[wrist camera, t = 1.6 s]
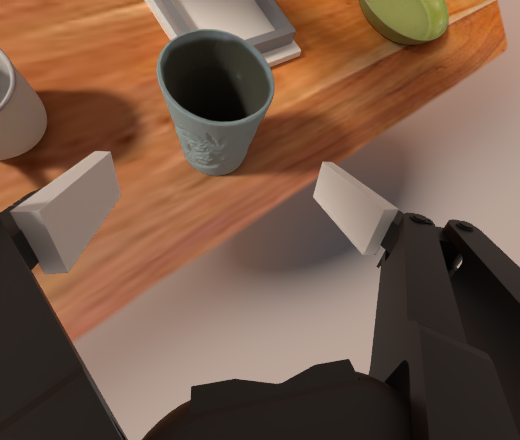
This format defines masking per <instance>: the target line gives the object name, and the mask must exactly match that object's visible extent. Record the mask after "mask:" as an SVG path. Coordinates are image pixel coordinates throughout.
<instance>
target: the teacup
mask: <svg viewBox="0 0 520 440" xmlns="http://www.w3.org/2000/svg"><path fill="white" fill-rule="evenodd" d="M46 127H47V114H46V110H45V108H44V105H43V103H42V101H41V100H40V98H39V96H38V95H37V93H36V92H35V91H34V90H33V88H32V87H31V86H30V84H29V83H28V82H27V81H26V80H25V78H24V77H23V76H22V75H21V74H20V73H19V71H18V70H17V69H16V68H15V67H14V66H13V65H12V63H11V61H10V59H9V58H8V57H7V55H6V54H5V53H4V52H3V51H2V50H1V49H0V160H5V159H9V158H13V157H16V156H19V155H21V154H23V153H25V152H27V151H29V150H30V149H31V148H33V147H34V146H35V145H36V144H37V143H38V142H39V141H40V140H41V138H42V137H43V135H44V133H45V130H46Z"/></svg>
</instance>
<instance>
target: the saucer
mask: <svg viewBox="0 0 520 440" xmlns="http://www.w3.org/2000/svg"><path fill="white" fill-rule="evenodd" d="M359 3H360V6H361V9H362V11H363V14H364V15H365V17H366V19H367V20H368V22H369V23H370V24H371V25H372V26H373V27H374V28H375V29H376V30H377V31H378V32H379V33H380V34H382V35H383V36H384V37H386V38H388V39H389V40H392V41H394V42H397V43H400V44H406V45H415V44H421V43H426V42H429V41H432V40H434V39H436V38H438V37H440V36H441V35H442V34H443V33H444V32H445V30H446V28H447V25H448V20H449V17H448V8H447V5H446V2H445V0H359Z"/></svg>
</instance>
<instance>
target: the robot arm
mask: <svg viewBox="0 0 520 440" xmlns="http://www.w3.org/2000/svg"><path fill="white" fill-rule="evenodd" d="M120 197H121V192H120V188H119V184H118V180H117V176H116V172H115V167H114V163H113V159H112V155H111V152H108V151H94V152H93V153H92V154H90V155H89V156H87V157H86V158H84V159H83V160H82V161H80V162H79V163H77V164H76V165H75V166H73V167H72V168H70V169H69V170H68V171H66V172H65V173H63V174H62V175H61V176H59V177H58V178H56V179H55V180H53V181H52V182H51V183H49V184H48V185H46V186H45V187H44V188H41V189H39V190H36V191H33V192H31V193H29V194H27V195H26V196H24V197H23V198H21V199H20V200H18V201H17V202H15V203H14V204H13V206H10V207H8V208H7V209H5V210H4V211H2V212H1V213H0V440H128V439H127V438H126V436H125V434H124V432H123V431H122V429H121V427H120V426H119V424H118V422H117V421H116V419H115V417H114V415H113V414H112V412H111V410H110V408H109V407H108V405H107V403H106V401H105V400H104V398H103V396H102V394H101V392H100V391H99V389H98V387H97V385H96V384H95V382H94V380H93V379H92V377H91V375H90V373H89V371H88V370H87V368H86V366H85V364H84V363H83V361H82V359H81V357H80V356H79V354H78V352H77V350H76V348H75V347H74V345H73V343H72V341H71V340H70V338H69V336H68V334H67V333H66V331H65V329H64V327H63V326H62V324H61V322H60V320H59V319H58V317H57V315H56V313H55V312H54V310H53V308H52V306H51V304H50V303H49V301H48V299H47V297H46V296H45V294H44V292H43V290H42V289H41V287H40V285H39V283H38V282H37V280H36V278H35V276H34V275H33V273H32V271H31V270H32V269H33V268H34V267H35V266H36V264H37V263H39V265H40V267H41V268H42V270H43V272H44V274H56V273H68V272H69V271H70V270H71V268H72V267H73V265H74V264H75V262H76V261H77V259H78V258H79V256H80V255H81V254H82V252H83V251H84V249H85V248H86V246H87V245H88V243H89V242H90V240H91V239H92V238H93V236H94V235H95V233H96V232H97V230H98V229H99V227H100V226H101V224H102V223H103V222H104V220H105V219H106V217H107V216H108V214H109V213H110V211H111V210H112V208H113V207H114V206H115V204H116V203H117V201H118V200H119V198H120ZM313 197H314V199H315V200H316V201H317V202H318V203H319V204H320V205H321V207H322V208H323V209H324V210H325V211H326V213H327V214H328V215H329V216H330V217H331V218H332V220H333V221H334V222H335V223H336V224H337V225H338V227H339V228H340V229H341V230H342V231H343V232H344V234H345V235H346V236H347V237H348V238H349V239H350V240H351V242H352V243H353V244H354V245H355V246H356V248H357V249H358V250H359V251H360V252H361V253H362V254H363V255H376V253H377V251H378V250H379V247H380V246H382V247H383V248H384V249H385V252H384V254H383V256H382V258H381V260H380V261H379V263H378V265H377V267H378V268H379V267H380V266H381V274H380V283H379V292H378V301H377V310H376V319H375V329H374V339H373V347H372V356H371V365H370V371H369V375H366V374H363V373H359V372H355V370H354V368H353V366H352V364H351V362H350V360H349V359H346V360H340V361H335V362H329V363H324V364H317V365H314V366H312V367H310V368H309V369H307V370H305V371H303V372H301V373H300V374H298V375H296V376H294V377H292V378H290V379H288V380H287V381H285V382H283V383H280V384H272V383H264V382H256V381H248V380H239V379H232V380H226V381H220V382H215V383H210V384H204V385H197V386H192V387H191V400H190V401H188V402H186V403H184V404H182V405H180V406H179V407H177V408H176V409H174V410H173V411H171V412H170V413H169V414H167V415H166V416H165V417H164V418H163V419H161V420H160V421H159V422H158V423H157V424H156V425H155V426H154V427H153V428H152V429H151V430H150V431H149V432H148V433H147V434H146V435H145V437H144V438H143V439H142V440H520V267H519V266H517V264H515V263H514V262H513V261H512V260H511V259H510V258H509V257H508V256H507V255H506V254H505V253H504V252H503V251H502V250H501V249H500V248H499V247H497V246H496V245H495V244H494V243H493V242H492V241H491V240H490V239H489V238H488V237H487V236H486V235H485V234H484V233H483V232H482V231H480V230H479V229H478V228H476V227H475V226H473V225H472V224H470V223H467V222H465V221H459V220H449V221H448V223H447V224H446V226H445V227H444V228H441V227H435V224H434V223H433V222H432V221H431V220H430V219H428V218H426V217H424V216H422V215H419V214H414V213H405V214H403V213H402V212H400V211H399V209H398V208H396V207H394V206H393V205H392V204H391V203H389V202H388V201H386V200H385V199H384V198H382V197H381V196H379V195H378V194H376V193H375V192H374V191H372V190H371V189H370V188H368V187H366V186H365V185H364V184H362V183H361V182H360V181H358V180H357V179H355V178H354V177H353V176H351V175H350V174H348V173H347V172H346V171H344V170H343V169H341V168H340V167H339V166H337V165H336V164H334V163H333V162H322V165H321V169H320V173H319V177H318V181H317V184H316V189H315V192H314V196H313ZM462 259H463V260H462ZM461 260H462V264H461V266H460V267H459V268H458V269H457V266H458V264H459V263H460V262H461Z"/></svg>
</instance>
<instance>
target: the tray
mask: <svg viewBox="0 0 520 440" xmlns="http://www.w3.org/2000/svg"><path fill="white" fill-rule="evenodd" d="M144 1H145V2H146V4H147V5H148V7H149V8H150V10H151V11H152V13H153V14H154V16H155V17H156V19H157V21H158V22H159V24H160V25H161V27H162V28H163V30H164V31H165V33H166V34H167V36H168V37H169V39H170V40H172V39H174V38H175V37H177V36H179V35H180V34H183V33H186V32H190V31H193V30H198V29H216V30H221V31H225V32H229V33H231V34H234V35H236V36H239V37H240V38H242V39H244V40H245V41H247V42H248V43H250V44H251V45H252V46H254V47H255V48H256V49H257V50H258V51H259V52H260V53H261V54H262V55H263V57H264V58H265V59H266V61H267V63H268V64H269V66H270V67H272V66H275V65H278V64H280V63H283V62H286V61H288V60H291V59H294V58H296V57H299V56H300V53H301V49H300V48H299V47H298V45H297V44H296V42H295V41H294V36H295V33H296V30H295V29H294V27H293V26H292V24H291V23H290V21H289V20H288V19H287V17H286V16H285V14H284V13H283V11H282V10H281V9H280V7H279V6H278V4H277V3H276V1H275V0H144Z"/></svg>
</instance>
